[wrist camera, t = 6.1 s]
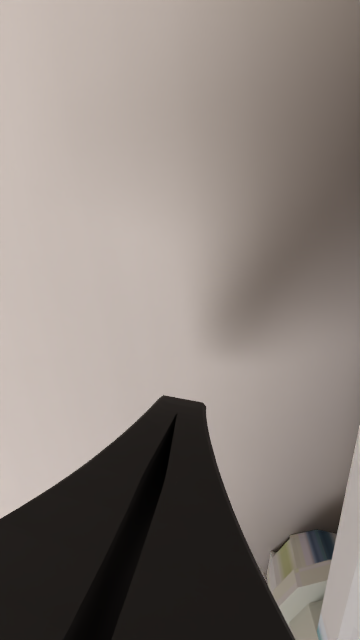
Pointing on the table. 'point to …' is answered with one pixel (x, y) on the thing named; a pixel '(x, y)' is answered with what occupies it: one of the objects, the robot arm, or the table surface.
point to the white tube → (322, 573)
